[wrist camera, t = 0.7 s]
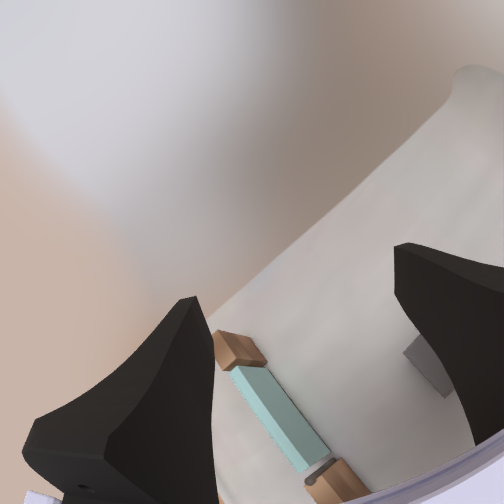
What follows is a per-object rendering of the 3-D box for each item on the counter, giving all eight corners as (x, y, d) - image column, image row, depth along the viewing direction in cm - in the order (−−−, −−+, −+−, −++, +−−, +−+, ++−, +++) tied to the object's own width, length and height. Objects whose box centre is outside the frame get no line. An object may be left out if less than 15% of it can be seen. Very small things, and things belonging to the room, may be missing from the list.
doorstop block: (475, 352, 18) (491, 346, 13) (439, 391, 18) (444, 398, 14) (442, 318, 20) (447, 302, 15) (407, 356, 21) (402, 352, 16)
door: (330, 451, 20) (309, 467, 17) (313, 463, 21) (290, 479, 17) (266, 367, 26) (236, 365, 22) (252, 380, 26) (221, 379, 23)
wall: (382, 505, 16) (369, 535, 12) (366, 515, 17) (349, 544, 12) (250, 337, 28) (214, 328, 24) (238, 348, 29) (201, 341, 24)
